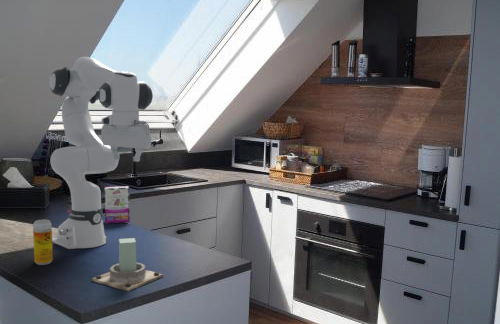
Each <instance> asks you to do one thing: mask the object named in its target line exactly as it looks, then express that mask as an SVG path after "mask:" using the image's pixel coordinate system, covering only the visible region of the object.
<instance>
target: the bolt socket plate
mask: <svg viewBox="0 0 500 324" xmlns="http://www.w3.org/2000/svg"><path fill="white" fill-rule="evenodd" d="M146 267H147V266H146V265H145V264H144V263H141V262H137V261H136V271H133V272H119V262H118V263H116V264H113V265H112V266H111V267H110V268H109V271H108V272H106V273H103V274H101V275H96V276H95V277H92V278H91V282H95V283H98V284H102V285H104V286H109V287H112V288H115V289H119V290H121V291H122V290H123V291H126V292H130V291H132V290H135V289H136V288H140V287H142V286H144V285H147V284H149V283H151V282H154V281H156V280H158V278H159V279H161V278H163V277H164V274H163V273H160V272H157V271H151V270H147V269H146Z"/></svg>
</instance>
